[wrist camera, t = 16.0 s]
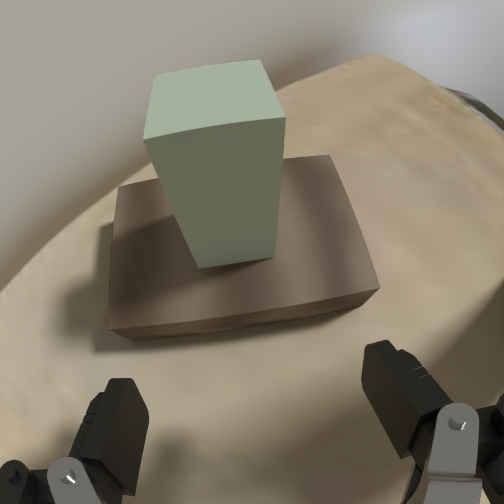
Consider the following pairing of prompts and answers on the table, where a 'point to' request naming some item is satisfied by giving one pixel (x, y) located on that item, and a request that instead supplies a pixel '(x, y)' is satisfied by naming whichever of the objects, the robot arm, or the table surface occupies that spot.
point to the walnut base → (238, 274)
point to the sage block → (219, 158)
